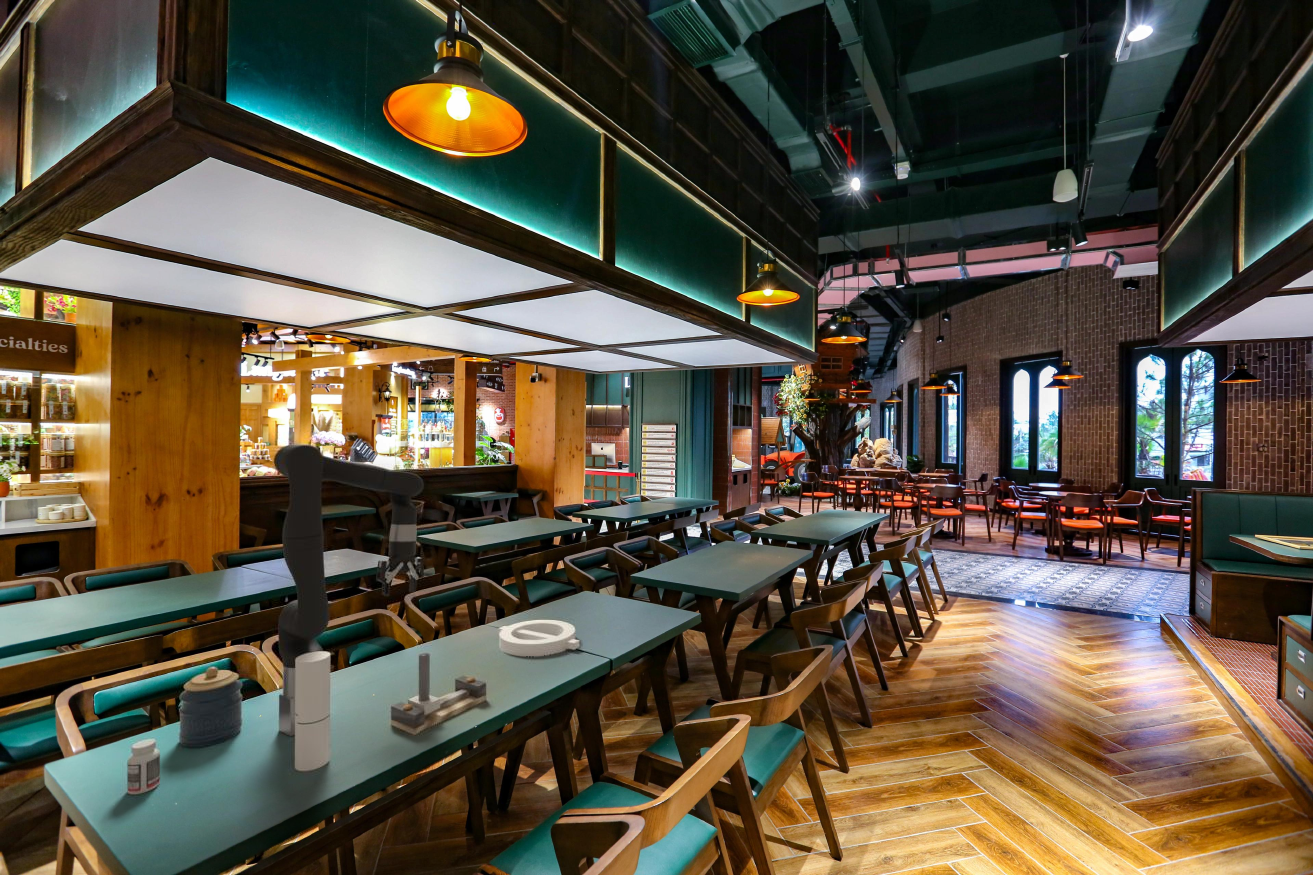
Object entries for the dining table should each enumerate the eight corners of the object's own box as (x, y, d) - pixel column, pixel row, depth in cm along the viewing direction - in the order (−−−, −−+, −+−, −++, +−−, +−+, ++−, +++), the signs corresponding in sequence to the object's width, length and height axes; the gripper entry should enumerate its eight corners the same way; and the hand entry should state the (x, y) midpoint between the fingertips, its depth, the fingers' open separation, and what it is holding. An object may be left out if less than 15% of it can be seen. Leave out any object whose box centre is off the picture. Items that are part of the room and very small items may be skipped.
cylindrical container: (322, 751, 143) (323, 649, 143) (334, 761, 138) (335, 655, 139) (290, 763, 137) (290, 657, 138) (301, 774, 133) (302, 664, 133)
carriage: (424, 714, 155) (424, 660, 155) (407, 708, 159) (408, 655, 159) (440, 707, 160) (440, 654, 160) (423, 701, 163) (423, 649, 163)
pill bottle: (157, 777, 131) (158, 734, 132) (161, 787, 128) (161, 742, 128) (125, 788, 128) (126, 743, 128) (128, 798, 124) (128, 752, 124)
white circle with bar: (497, 635, 229) (497, 623, 229) (568, 628, 238) (568, 617, 238) (501, 661, 203) (501, 647, 203) (581, 652, 211) (581, 639, 211)
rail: (414, 734, 151) (414, 712, 151) (390, 724, 156) (391, 703, 156) (486, 699, 171) (486, 680, 171) (463, 691, 177) (463, 673, 177)
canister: (252, 721, 158) (252, 656, 158) (224, 746, 145) (225, 675, 145) (199, 725, 156) (199, 659, 156) (166, 750, 143) (166, 678, 143)
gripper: (388, 541, 169) (384, 598, 167) (431, 538, 181) (427, 592, 179) (373, 539, 173) (369, 595, 171) (416, 537, 185) (412, 589, 183)
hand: (399, 593), depth 175 cm, fingers open, 8 cm apart
